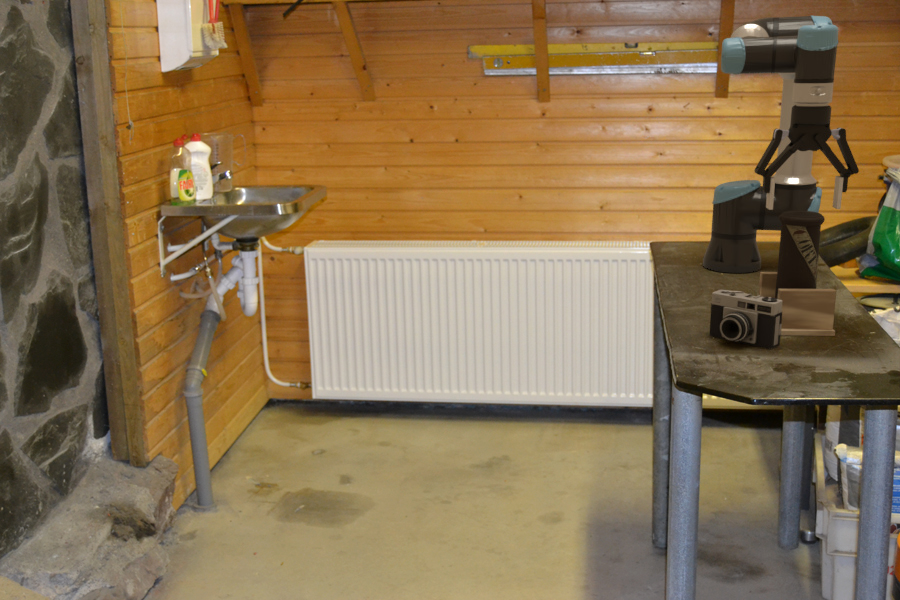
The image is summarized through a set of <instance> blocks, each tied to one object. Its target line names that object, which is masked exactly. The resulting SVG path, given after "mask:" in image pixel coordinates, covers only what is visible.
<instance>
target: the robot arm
mask: <svg viewBox="0 0 900 600" xmlns="http://www.w3.org/2000/svg"><path fill="white" fill-rule="evenodd" d="M838 37H839V28H838V26H837V25H835V24H833V22H832V19H831V18H830V17H828V16H825V15H805V16H803V15H800V16H779V17H772V16H770V17H762V18H757V19H753V20H751V21H748V22H746V23H744V24H741V25H740V26H738V27H737V28H736V29H734V31H733V32H732V34H731V35H730V37H727V38H724V39H723V40H722V44H721V58H720V71H721V72H722V73H723V74H730V75H731V74H732V75H743V74H747V75H748V74H778V75H779V76H780V77H781V79H782V91H781V102H780V103H781V104H780V115H779V116H780V118H779V128H775V129H774V130H773V133H772V137H771V141H770V142H769V144H768V145H767V147H766V149H765V151H764V153H763V154H762V156H761V158H760V159H759V161H758V163H757V164H756V167H755V168H754V170H753V171H754V173H755V174H757V175H758V176H762V184H761V181H760V180H758V179H744V180H743V179H741V180H735V181H727V182H723V183H720V184H718V185H717V186H716V187H715V188H714V191H713V198H712V199H713V200H712V202H711V203H712V220H711V234H710V235H711V237H710V240H709V243H708V245H707V248H706V249H705V250H706V251H705V253H704V256H703V257H702V267H703V266H704V267H703V268H705V269H707V268H708V269H707V270H710V269H711V270H710V271H713V270H714V272H720V273H727V274H728V273H729V274H730V273H731V274H732V273H733V274H742V273H745V274H746V273H753V271H754V272H759V271H760V270H761V269H762V258H761V254H760V251H759V246H758V242H757V233H758V231H777V232H778V231H780V232H781V222H780V220H779V215H780V214H782V213H783V212H787V211H811V212H817V213H820V212H819V211H820V206H821V204H822V200H821V199H822V194H823V189H822V188H821V187H820V186H817V182H818V181H817V179H816V178H815V177H814V176H813V175H812V169H813V158H814V152H817V151H820V152H822V154H823V155H824V157H826V159H827V160H828V161H829V162H830V164H831V165H832V166H833V168H834V169H835V170H836V172H837V173H838V174H839V175H835V178H834V188H833V198H832V199H833V200H832V208H834V209H836V210H841V208H842V200H843V199H842V198H843V197H842V196H843V193H847V190H848V184H849V178H851V176H853V175H857V174H858V173H859V172H860V169H859V167H858V165H857V162H856V160H855V157H854V154H853V152H852V150H851V148H850V145H849V143H848V141H847V129H846V128H843V127H837V128H833V129H831V117H832V106H831V105H830V104H831V103H832V102H833V93H834V82H835V69H836V60H837V52H838V45H839V38H838ZM831 136H832V138H833V139H834V140H836V143H837V145H838V147H839V151H840V152H841V155H842V158H843V161H844V162H845V165H846V167H847V168H846V167H845V166H844V163H842V162H841V160H840V159H839V158H838V156H837V155H836V154H835V153H834V152H833V150H832V149H831V147H830V146H829V144H828V143H827V141H828V140H829V139H830V138H831ZM776 151H777V155H776V157H775V159H774V160H773V161H772V162H771V159H772V158H773V156H774V155H775V154H776ZM770 162H771V163H770ZM769 163H770V164H769ZM768 165H769V166H768Z"/></svg>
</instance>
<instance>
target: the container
mask: <svg viewBox="0 0 900 600" xmlns="http://www.w3.org/2000/svg"><path fill="white" fill-rule="evenodd" d="M779 220H780V222H781V231H780V239H779V247H778V248H779V250H778V260H777V271H776V272H777V280H776V290H775V298H776V299H778V289H817V282H818V268H819V253H820V240H821V227H822V226H821V225H823V223H824V222H825V216H824V215H823V214H822V213H820V212H818V213H817V212H811V211H787V212H783V213H782V214H780V215H779Z"/></svg>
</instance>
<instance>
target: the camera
mask: <svg viewBox="0 0 900 600" xmlns="http://www.w3.org/2000/svg"><path fill="white" fill-rule="evenodd" d="M709 319H710V320H709V321H710V322H709V333H708V335H709V337H712V338H716V339H721V340H724V341H725V340H726V341H730V342H733V343H738V344H743V345H748V346H753V347H757V348H761V347H762V348H761V349H765V348H766V350H773V349H775V348H777V347H779V346H780V344H781V343H780V342H781V336H782V335H781V328H782V300H779V299H776V298H773V297H761V295H759V294H758V295H753V293H747V292H743V291H739V290H730V289H729V290H728V289H718V290H715V291H713V292H712V293H711V303H710V318H709Z"/></svg>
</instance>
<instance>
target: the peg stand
mask: <svg viewBox="0 0 900 600" xmlns="http://www.w3.org/2000/svg"><path fill="white" fill-rule="evenodd" d="M776 280H777V271H760V273H759V284H758V285H759V287H758V295H761V297H773V298H775V290H776ZM778 299H779V300H782V328H781V335H780V336H807V337H808V336H811V337H812V336H819V337H820V336H822V337H823V336H826V337H827V336H828V337H829V336H831V337H833V336H836V330H835V329H834V322H835V321H834V320H835V309H836V301H837V300H836V299H837V291H836V290H835V289H834V288H816V289H778Z"/></svg>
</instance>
